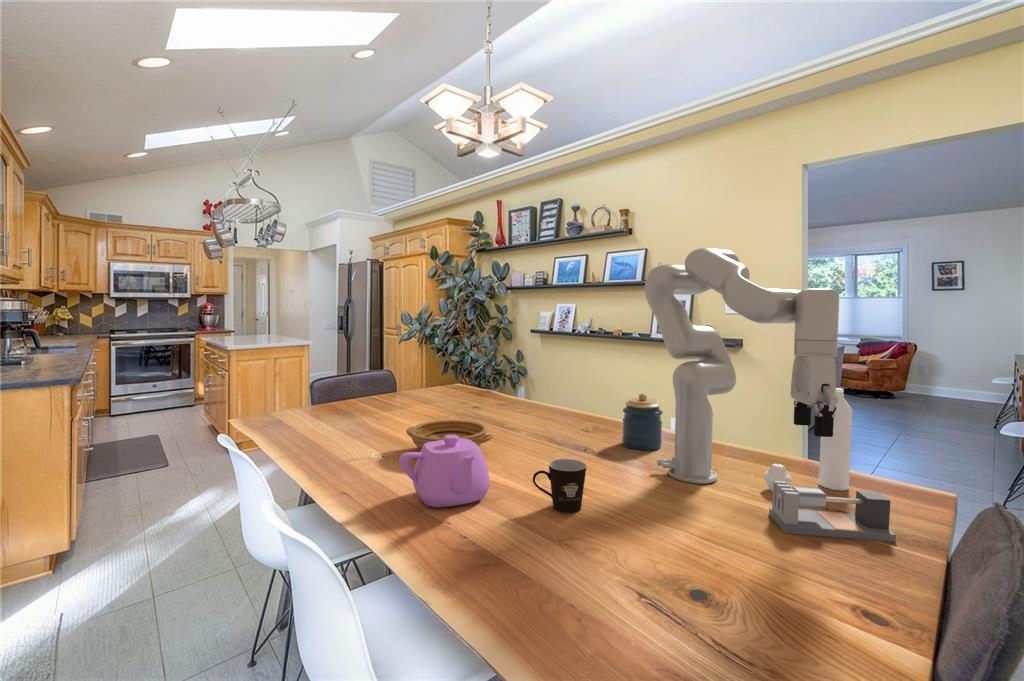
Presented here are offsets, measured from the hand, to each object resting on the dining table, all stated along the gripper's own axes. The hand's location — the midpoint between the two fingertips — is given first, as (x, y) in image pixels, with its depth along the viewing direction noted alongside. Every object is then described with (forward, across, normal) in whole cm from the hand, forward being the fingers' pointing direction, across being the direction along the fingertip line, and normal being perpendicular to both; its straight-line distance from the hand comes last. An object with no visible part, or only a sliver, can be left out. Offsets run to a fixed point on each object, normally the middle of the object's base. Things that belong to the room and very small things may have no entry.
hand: (812, 430), depth 98 cm
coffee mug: (+20, 0, -52) cm, 56 cm away
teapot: (+20, 0, -78) cm, 81 cm away
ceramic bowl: (+20, -34, -90) cm, 99 cm away
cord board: (+20, 0, +4) cm, 21 cm away
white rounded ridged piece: (+20, -20, +1) cm, 29 cm away
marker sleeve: (+16, 0, 0) cm, 16 cm away
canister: (+20, -55, -29) cm, 66 cm away
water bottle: (+20, -27, +17) cm, 38 cm away
